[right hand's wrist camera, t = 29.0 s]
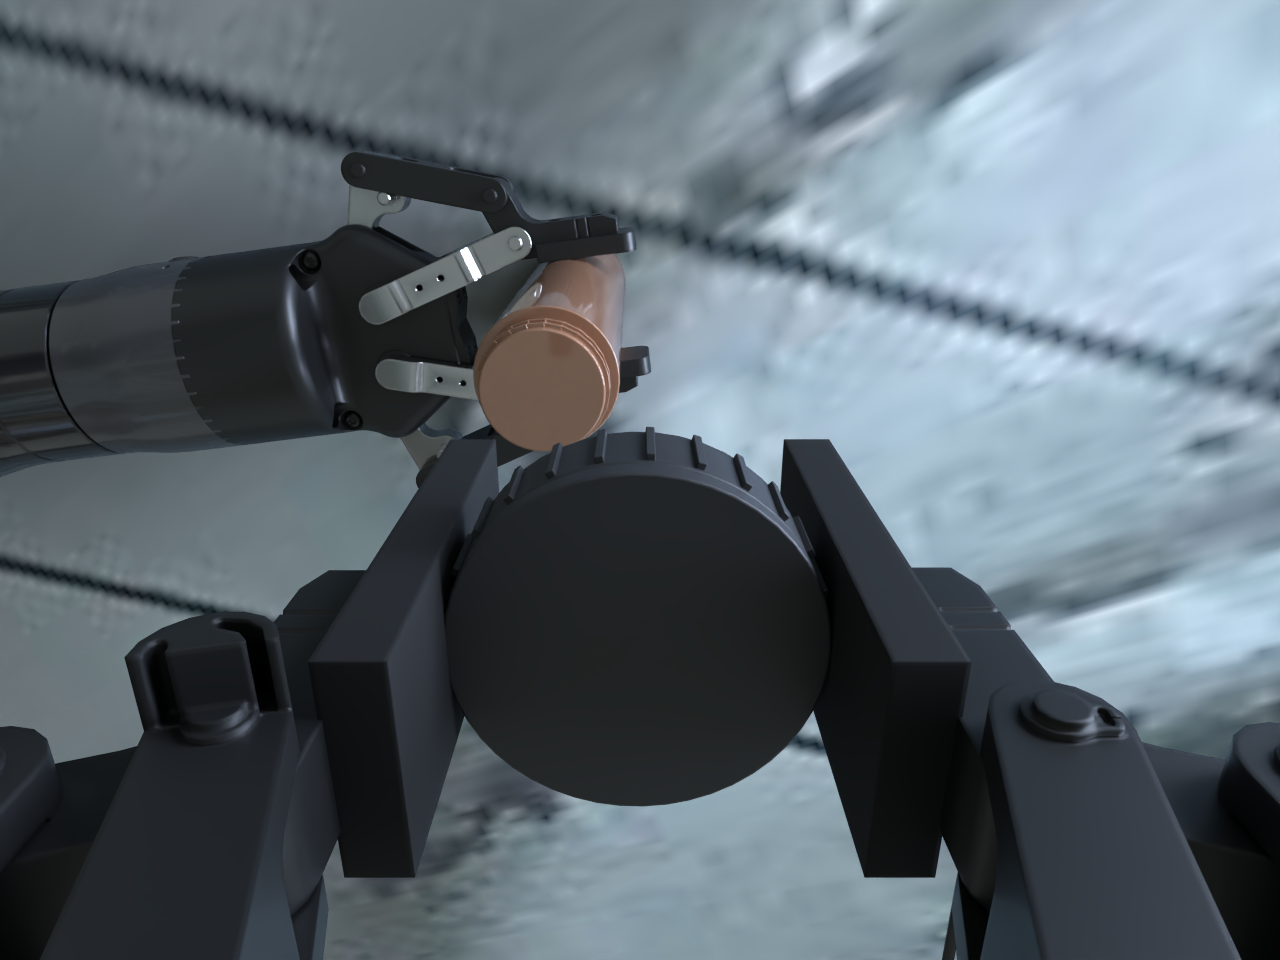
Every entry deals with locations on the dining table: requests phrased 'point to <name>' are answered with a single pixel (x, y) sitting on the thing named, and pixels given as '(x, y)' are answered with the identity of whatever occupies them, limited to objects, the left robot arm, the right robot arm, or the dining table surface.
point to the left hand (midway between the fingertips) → (640, 299)
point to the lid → (637, 621)
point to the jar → (555, 354)
